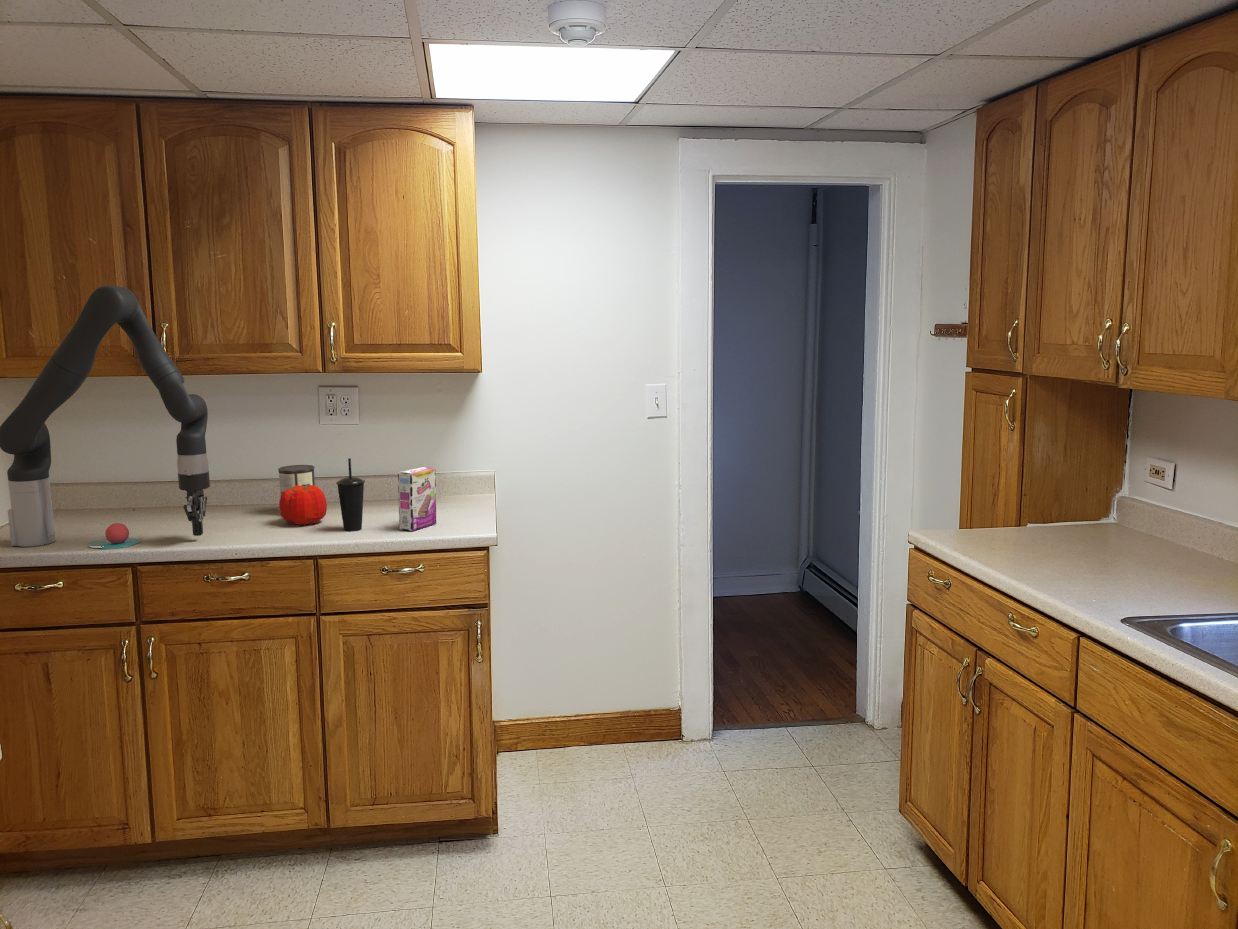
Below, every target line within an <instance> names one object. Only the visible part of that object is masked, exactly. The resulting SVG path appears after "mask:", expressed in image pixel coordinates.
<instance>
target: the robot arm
mask: <svg viewBox="0 0 1238 929" xmlns="http://www.w3.org/2000/svg"><path fill="white" fill-rule="evenodd" d="M115 324H117V326H119V327H120V328H121V329H122V330H123V332H125V334H126V336H128V339H130V341H131V343H132V345H133V347H134V350H135V352H136V354H137V358H138V360H139V363H140V366H141V368H142V369H143V371H144V372H145V374H146V375H147V377H148V378H149V379H150V380H151V381H150V382H152V383H153V385H154V387H156V389H157V390H158V393H159V396H160V397H161V398H160V399H161V400H162V403H163V405H164V407H165V408H166V411H167V412H168V414H169V415H170V416H171V417H172V418H173V419H174V420H175V421H177V422H179V423H180V424H181V425H180V431H179V432H178V433H177V435H176V440H175V441H176V443H175V444H176V454H177V456H176V457H177V459H176V466H177V481H178V489H179V490H181V491H186V496H185V498H184V499H185V500H184V501H185V504H183V509H184V512H185V515H186V518H187V520H188V521H189V522H190V523H191V524H192V525H191V526H192V527H191V528H192V535H193V536H194V537H196V536H197V537H199V536H202V535H203V534H204V524H203V520H204V517H206V509H207V502H208V497H207V496H206V495H205V493H204V490H206V489H209V488H210V487H211V483H210V481H211V480H210V466H209V457H208V454H207V442H206V433H207V425H208V416H209V415H208V414H209V412H208V405H207V403H206V401H205V399H204V398H203V397H202V396H201V395H199V394H195V393H191V394H190V393H188V391H187V390H186V388H185V385H184V383H185V377H184V376H183V374H182V372H181V371H180V370H179V368H178V367H177V365H176V364H175V362H174V361H173V360H172V358H171V357H170V355H169V353H168V352H166V349H165V348H164V347H163V345H162V344H161V342H160V340H159V339H158V336H156V334H155V332H154V330H153V328H152V326H151V325H150V322H149V321H148V318H147V317H146V315H145V313H144V310H143V309H142V306H141V304H140V303H139V300H138V298H137V297H136V295H135V293H133V292H132V291H131V290H130V289H128V288H126V287H124V286H118V285H117V286H116V285H102V286H99V287H98V288H96V289H95V290H93V292H92V293H91V294H90V295H89V297H88V298H87V301H85V304H84V307H83V308H82V310H81V312H80V314H79V316H78V317H77V320H76V321H75V323H74V324H73V326H72V327H71V329H70V330H69V331H68V333H67V334H66V336H65V337H64V338H63V340H62V341H61V343H60V344H59V346H58V347H57V349H56V350H55V351H54V353H53V354H52V355H51V356H50V357H49V360H48V361H47V363H46V364H45V365H44V367H43V368H42V370H41V372H40V373H39V375H38V377H37V378H36V379H35V381H34V382H33V383H32V385H31V387H30V388H29V389H28V391H27V393H26V395H25V396H24V398H23V399H22V401H20V403H19V404H18V405H17V406H16V408H15V409H14V410H13V411H12V412H11V413H10V414H9V416H8V417H7V418H6V419H5V420H4V421H3V422H2V423H1V425H0V450H2V451H3V452H4V453H6V454H9V455H13V461H12V463H11V465H10V467H9V468H8V469H7V472H6V474H7V483H8V492H9V502H10V509H8V510H7V516H8V519H7V520H8V527H9V537H10V545H11V547H12V546H14V547H37V546H43V545H44V544H45V545H49V544H52V543H55V540H56V530H55V520H54V508H53V502H52V491H51V481H50V469H51V466H52V452H51V451H52V450H51V448H52V447H51V436H50V431H49V428H48V427H47V424H46V423H45V422H46V421H47V420H48V418H49V417H50V416H51V415H52V414H53V413H54V412H55V411H56V410H57V409H59V408H60V407H61V406H62V405H63V404H64V403H66V402H67V401H68V400H70V399H71V397H73V396H74V394H75V393H76V392H77V391H79V389H80V388H81V387H82V385H83V383H85V381H86V379H88V377H89V375H90V373H91V371H92V369H93V367H94V364H95V362H96V361H95V360H96V357H97V353H98V348H99V346H100V344H101V342H102V340H103V338H104V337H105V336H106V334H108V332H109V331H110V330H111V329H112V327H113V326H114V325H115Z"/></svg>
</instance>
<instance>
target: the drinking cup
mask: <svg viewBox="0 0 1238 929" xmlns="http://www.w3.org/2000/svg"><path fill="white" fill-rule="evenodd" d="M347 459H348V461H347V463H348V465H347V466H348V476H346V477H343V478H341V479H339V480H337V481H336V482H335V483H336V485H337V490H338V491H337V492H338V499H339V504H340V512H341V513H340V514H341V519H342V527H343V531H344V530H345V532H358V531H361V530H363V510H364V509H363V507H364V488H365V483H366V480H365V479H362V478H360V477H357V476H352V460H351V457H349V458H347Z"/></svg>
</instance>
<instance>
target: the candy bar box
mask: <svg viewBox="0 0 1238 929" xmlns="http://www.w3.org/2000/svg"><path fill="white" fill-rule="evenodd" d="M397 481H398V482H397V484H398V485H397V486H398V487H397V488H398V489H397V491H398V524H399V530H400V531H404V530H408V531H407V532H416V531H418V530H422V529H424V528H423V527H425V528H427V527H426V526H428V527H430V525H431V526H433V524H434V525H436V524H437V494H436V491H437V490H436V489H437V488H436V487H437V486H436V485H437V484H436V468H434V467H428V466H427V467H423V466H421V467H416V468H412V469H407V470H403V471H402V470H401V471H399V472H397ZM435 523H436V524H435ZM421 528H422V529H421Z"/></svg>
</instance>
